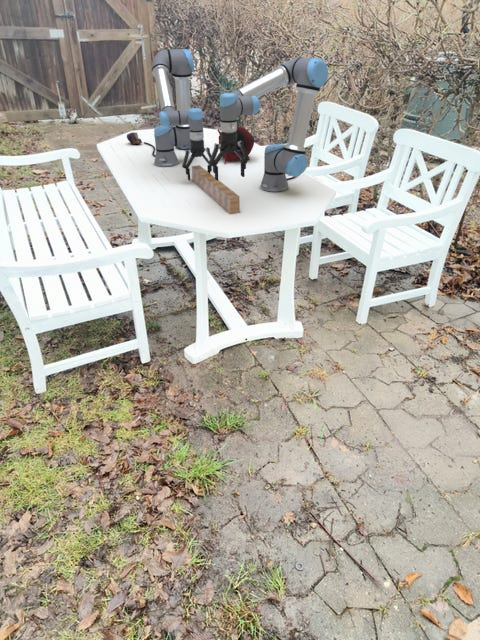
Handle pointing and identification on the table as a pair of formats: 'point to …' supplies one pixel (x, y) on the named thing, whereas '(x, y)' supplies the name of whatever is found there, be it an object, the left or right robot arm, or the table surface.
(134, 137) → the rock
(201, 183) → the post
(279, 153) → the right robot arm
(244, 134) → the decorative skull
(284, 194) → the table surface
